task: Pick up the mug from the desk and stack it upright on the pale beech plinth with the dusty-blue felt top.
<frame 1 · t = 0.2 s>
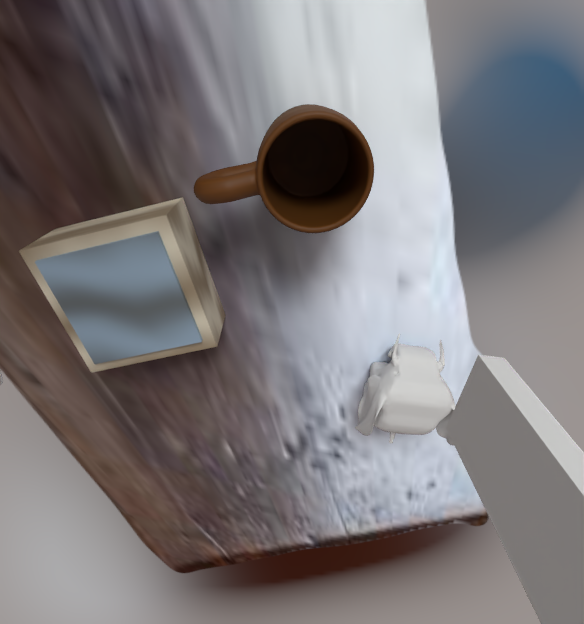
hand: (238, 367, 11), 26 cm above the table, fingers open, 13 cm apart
elephant figurine: (395, 368, 44), on the table
mug: (281, 159, 33), on the table
plinth: (145, 274, 38), on the table
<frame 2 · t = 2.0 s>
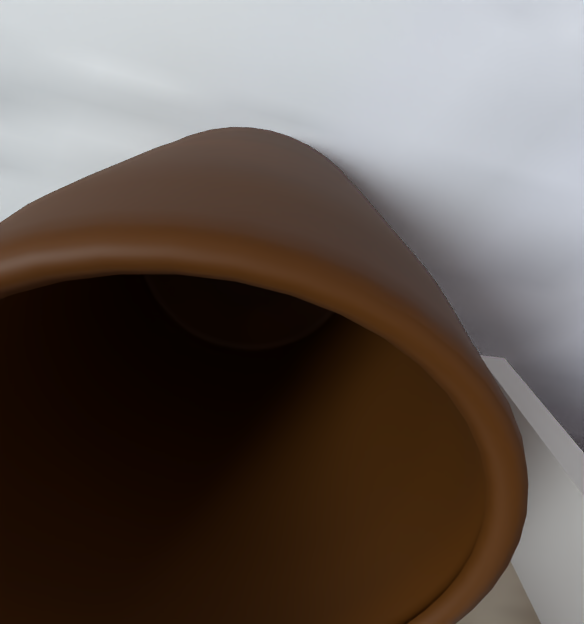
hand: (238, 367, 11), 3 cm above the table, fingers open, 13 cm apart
mug: (239, 313, 14), on the table
plinth: (346, 577, 21), on the table
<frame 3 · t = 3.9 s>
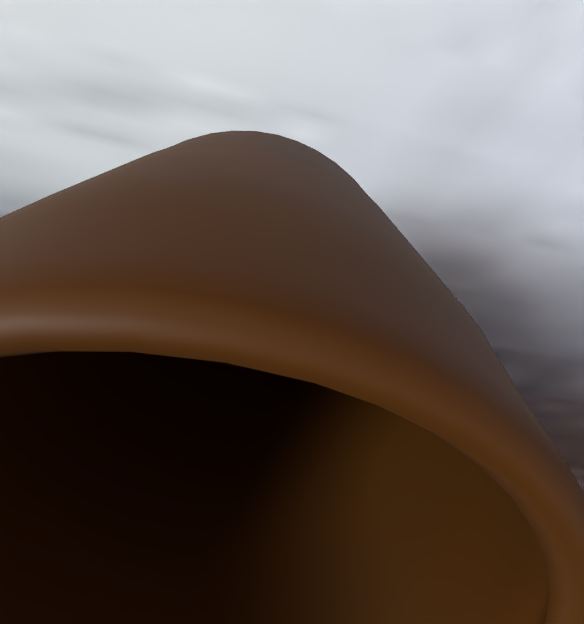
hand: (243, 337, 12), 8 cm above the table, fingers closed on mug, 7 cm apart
mug: (241, 328, 13), point 8 cm above the table, touching gripper
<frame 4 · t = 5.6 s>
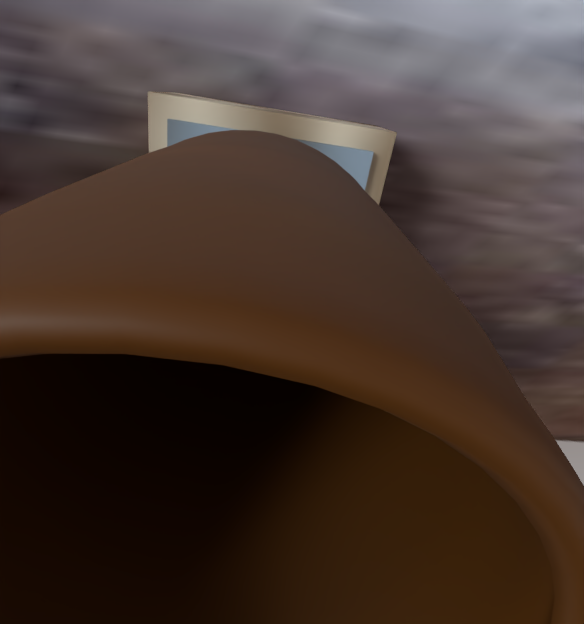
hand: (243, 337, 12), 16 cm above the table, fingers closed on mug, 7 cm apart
mug: (240, 328, 13), point 16 cm above the table, touching gripper
plinth: (265, 208, 27), on the table
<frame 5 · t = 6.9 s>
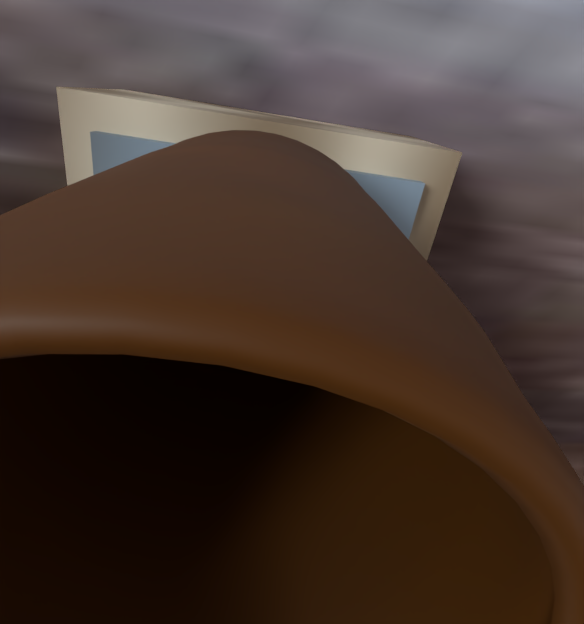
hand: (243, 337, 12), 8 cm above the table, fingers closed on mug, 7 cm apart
mug: (240, 328, 13), point 8 cm above the table, touching gripper
plinth: (257, 249, 20), on the table
when the fingers open (7 cm above the table, at t = 7.6 s): mug stays where it is, resting on plinth.
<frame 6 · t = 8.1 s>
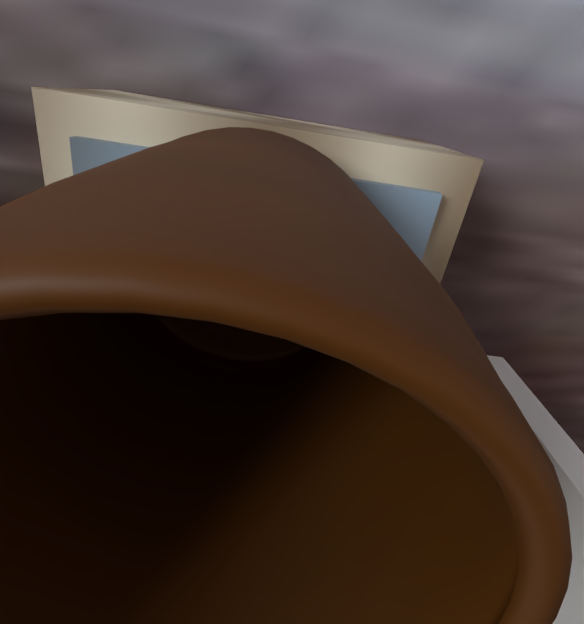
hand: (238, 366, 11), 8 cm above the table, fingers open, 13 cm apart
mug: (238, 322, 13), point 6 cm above the table, touching plinth
plinth: (257, 260, 18), on the table
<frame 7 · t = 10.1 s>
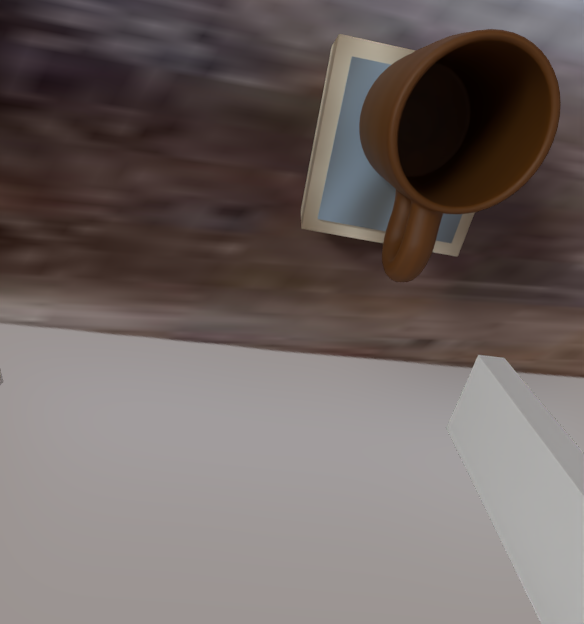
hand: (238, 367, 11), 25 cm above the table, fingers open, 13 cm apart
mug: (402, 157, 27), point 6 cm above the table, touching plinth
plinth: (388, 150, 32), on the table
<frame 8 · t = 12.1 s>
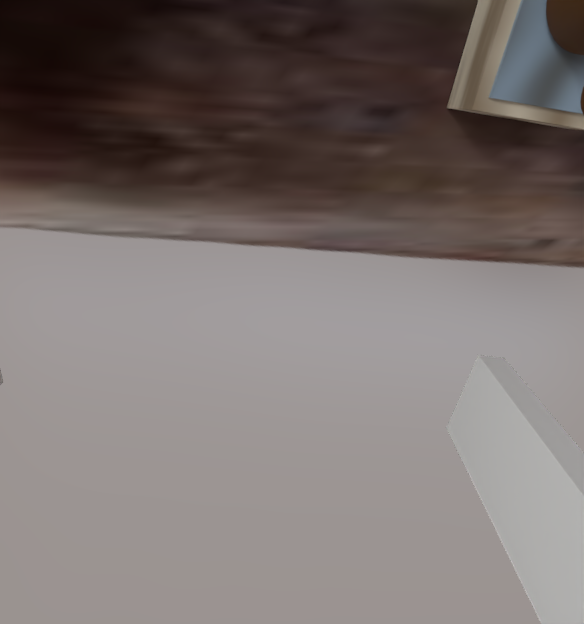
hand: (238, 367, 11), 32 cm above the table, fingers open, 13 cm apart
mug: (578, 30, 29), point 6 cm above the table, touching plinth
plinth: (536, 41, 34), on the table
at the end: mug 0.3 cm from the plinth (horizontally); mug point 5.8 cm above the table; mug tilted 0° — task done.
